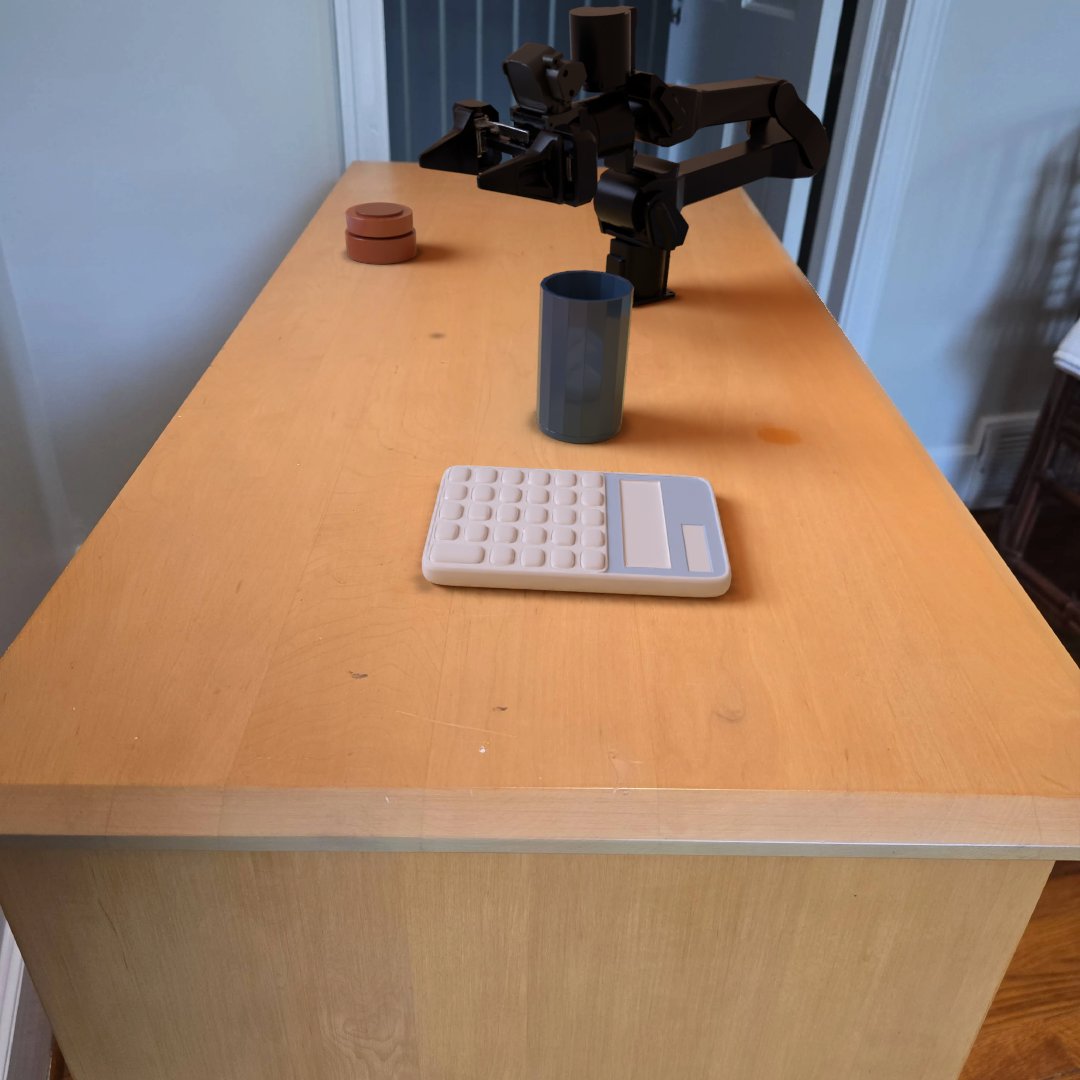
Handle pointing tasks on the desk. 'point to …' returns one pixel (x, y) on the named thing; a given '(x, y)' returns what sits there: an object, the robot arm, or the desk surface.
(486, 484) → the calculator
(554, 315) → the tumbler
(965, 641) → the desk surface
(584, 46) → the robot arm
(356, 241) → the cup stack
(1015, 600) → the desk surface
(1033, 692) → the desk surface
